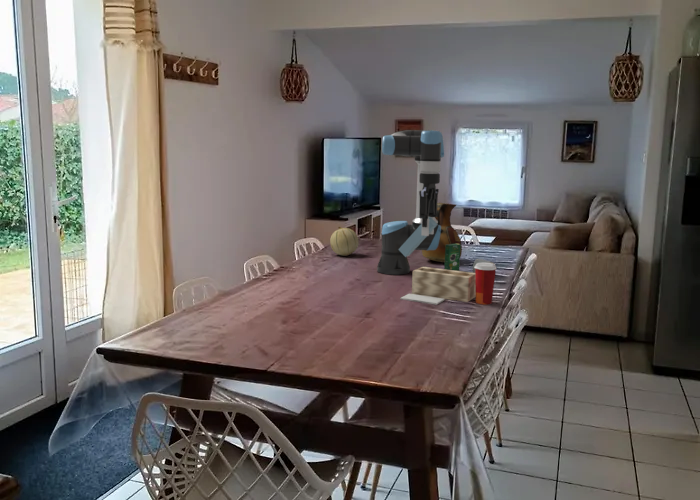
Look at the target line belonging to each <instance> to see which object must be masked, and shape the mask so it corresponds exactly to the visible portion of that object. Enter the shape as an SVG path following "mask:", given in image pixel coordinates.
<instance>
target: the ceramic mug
mask: <svg viewBox="0 0 700 500" xmlns="http://www.w3.org/2000/svg"><path fill="white" fill-rule="evenodd" d="M477 263H493V264H495V263H494V262H493V261H489V260H485V259H482V258H477V259H475V260H474V262H473V264H472V273H475V268H474V267H475V265H476V264H477Z"/></svg>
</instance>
